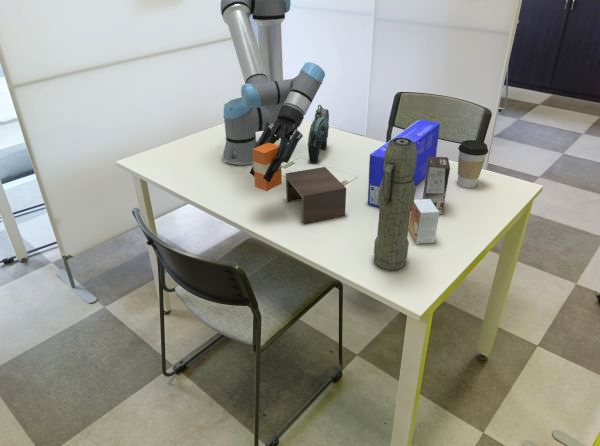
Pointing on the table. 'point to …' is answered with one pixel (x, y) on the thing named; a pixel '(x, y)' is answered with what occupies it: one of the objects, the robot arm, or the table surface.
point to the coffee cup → (470, 162)
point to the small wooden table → (316, 194)
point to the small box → (423, 221)
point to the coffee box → (436, 181)
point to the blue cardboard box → (426, 146)
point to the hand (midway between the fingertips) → (259, 177)
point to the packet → (265, 166)
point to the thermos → (395, 204)
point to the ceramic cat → (318, 134)
